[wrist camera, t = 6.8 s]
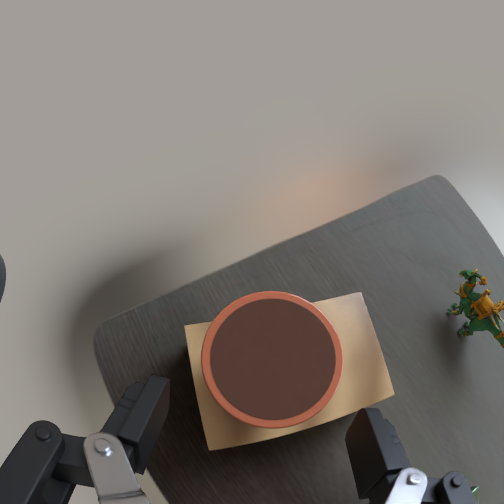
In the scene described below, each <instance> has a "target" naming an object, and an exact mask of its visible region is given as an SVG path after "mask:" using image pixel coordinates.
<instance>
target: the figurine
mask: <svg viewBox="0 0 504 504" xmlns="http://www.w3.org/2000/svg"><path fill="white" fill-rule="evenodd" d="M477 271H478V270H477V269H476V271H475V272H473V271H472V270H468V271H461V272H460V275H461V277H462V276H464V277H465V279H467V280H468V281H467V282H465V284H463V285H461V283H460V292H458V291H456V290H455V289H454V292H455V293H456V294H457V295H459V296H460V298H461V301H460V304H459V306H457V304H456V303H455V304H453V306H454V307H455V309H457V308H459V311H458V310H457V311H454V312H452V311H451V310H450V308H448V310H449V311H447V313H449V314H454V315H459V314H462V311H463V310H464V313H465V316H466V317H467V318H469V319H470V320H471V321H470V323H469V324H468V321H466V322H465V324H464V325H465V326H466V327H467V328H468V331H463V329H462V328H461V329H459V331H458V333H459V334H461V335H464V336H463V337H465V335H466V336H469V335H471V336H472V335H473V331H484V330H488V331H490V332H491V333H492V334H493V335H494V338H495V339H497V340H498V341H499V342H500V344H501V346H502V347H503V348H504V337H503V336H504V332H503V331H501V329H500V326H499V322H498V318H499V319H500V320H501V321H503V320H502V319H501V317H500V315H499V312H500V311H501V310H504V307H503V305H504V303H503V301H502V300H501V301H500V302H498V303H499V304H497V305H495V304H493V302H492V301H491V300H490V299H489V298H488V297H487V294H488V295H490V293H491V292H490V291H489V290H488V289H486V291H485V292H484V293H482V294H480V293H477V292H474V291H473V289H474V287H475V285H476V283H477V280H476V277H478V278H480V280H481V281H480V282H479V284H480V285H482V284H483V285H485V284H486V285H487V282H486V280H487V279H486V278H485V277H484V278H483V277H482V276H480V275H479V274H477V273H476V272H477ZM481 282H482V283H481ZM487 292H488V293H487ZM455 305H456V306H455ZM496 315H497V316H496ZM497 317H498V318H497ZM503 322H504V321H503Z"/></svg>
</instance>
